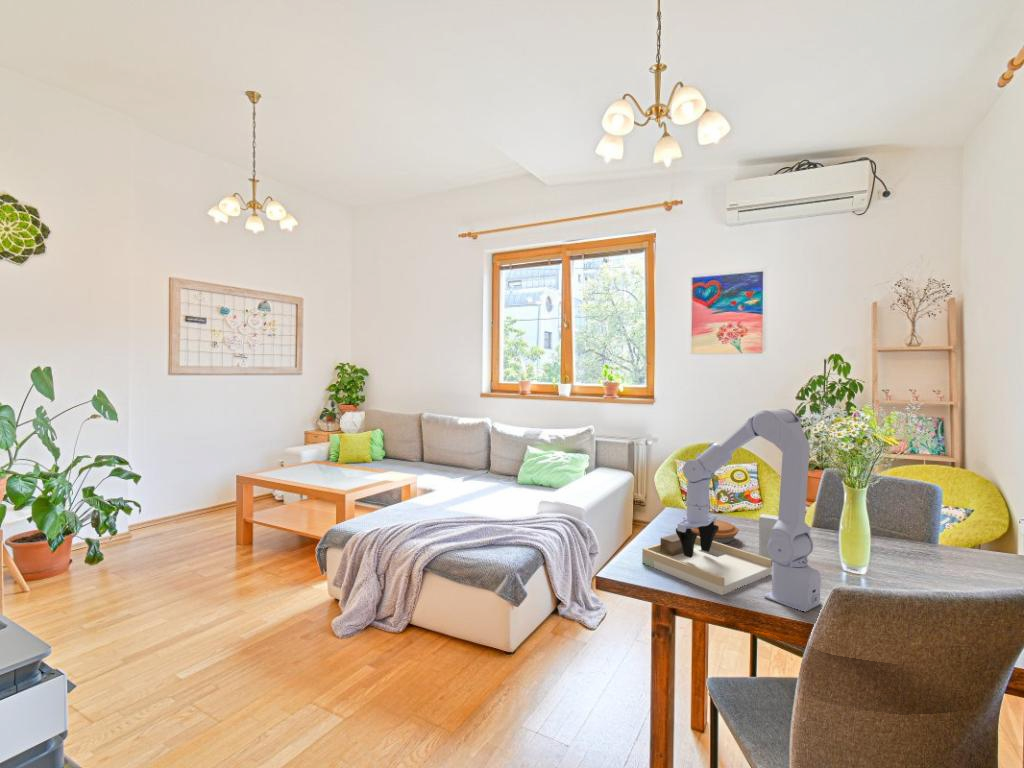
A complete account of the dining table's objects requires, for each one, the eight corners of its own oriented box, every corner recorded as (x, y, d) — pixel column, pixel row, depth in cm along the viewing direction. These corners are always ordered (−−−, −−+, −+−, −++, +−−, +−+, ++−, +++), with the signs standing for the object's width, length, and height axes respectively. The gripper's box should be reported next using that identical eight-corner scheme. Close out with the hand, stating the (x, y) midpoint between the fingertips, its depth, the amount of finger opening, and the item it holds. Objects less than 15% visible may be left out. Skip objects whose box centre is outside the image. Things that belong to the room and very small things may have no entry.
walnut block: (692, 549, 146) (692, 536, 146) (672, 556, 141) (672, 541, 141) (680, 545, 149) (680, 532, 149) (660, 552, 144) (660, 537, 144)
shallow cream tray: (771, 574, 134) (771, 559, 134) (721, 595, 122) (722, 578, 121) (691, 547, 154) (692, 534, 154) (642, 563, 141) (642, 548, 141)
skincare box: (783, 558, 146) (784, 516, 145) (782, 563, 142) (783, 520, 142) (759, 554, 149) (760, 513, 148) (758, 559, 145) (759, 516, 145)
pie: (730, 550, 152) (731, 533, 152) (678, 539, 162) (679, 523, 161) (743, 537, 164) (744, 521, 164) (694, 527, 174) (695, 512, 174)
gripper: (701, 497, 147) (700, 544, 147) (668, 504, 138) (667, 554, 139) (723, 502, 141) (722, 551, 141) (690, 510, 133) (690, 562, 133)
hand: (696, 553), depth 140 cm, fingers open, 7 cm apart
